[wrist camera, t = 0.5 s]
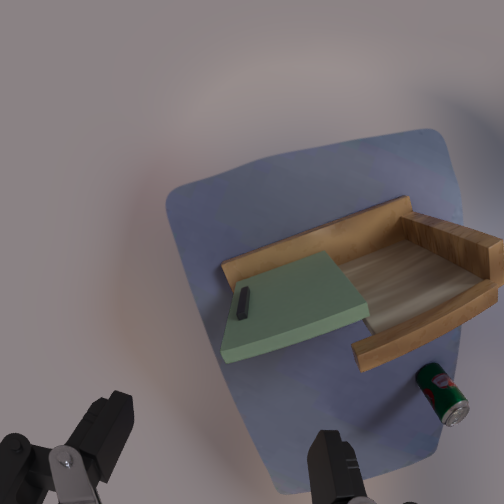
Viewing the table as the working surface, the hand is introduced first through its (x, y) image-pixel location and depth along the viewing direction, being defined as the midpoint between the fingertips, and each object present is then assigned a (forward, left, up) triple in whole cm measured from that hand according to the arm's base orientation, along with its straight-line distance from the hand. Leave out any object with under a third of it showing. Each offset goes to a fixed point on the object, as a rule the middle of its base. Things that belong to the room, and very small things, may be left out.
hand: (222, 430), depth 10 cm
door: (0, +4, -24) cm, 24 cm away
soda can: (+15, +33, -26) cm, 45 cm away
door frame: (-2, +9, -26) cm, 28 cm away
